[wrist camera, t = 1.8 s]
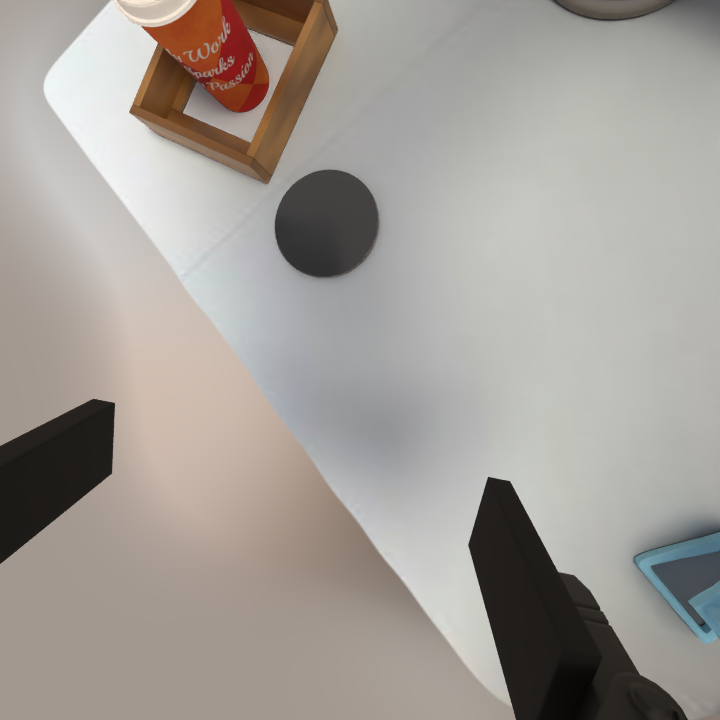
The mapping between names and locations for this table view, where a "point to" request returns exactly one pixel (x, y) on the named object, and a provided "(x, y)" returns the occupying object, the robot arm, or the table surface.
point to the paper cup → (206, 46)
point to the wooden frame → (259, 158)
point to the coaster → (327, 224)
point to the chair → (712, 604)
